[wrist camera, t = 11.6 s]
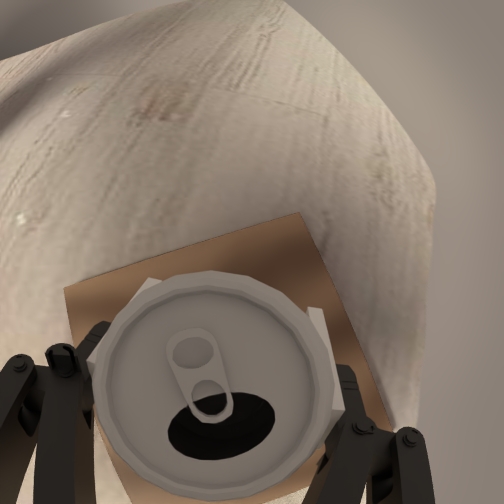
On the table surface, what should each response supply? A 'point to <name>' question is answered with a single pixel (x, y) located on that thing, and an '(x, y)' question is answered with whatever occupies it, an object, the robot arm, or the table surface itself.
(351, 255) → the table surface
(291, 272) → the walnut board
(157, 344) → the can
